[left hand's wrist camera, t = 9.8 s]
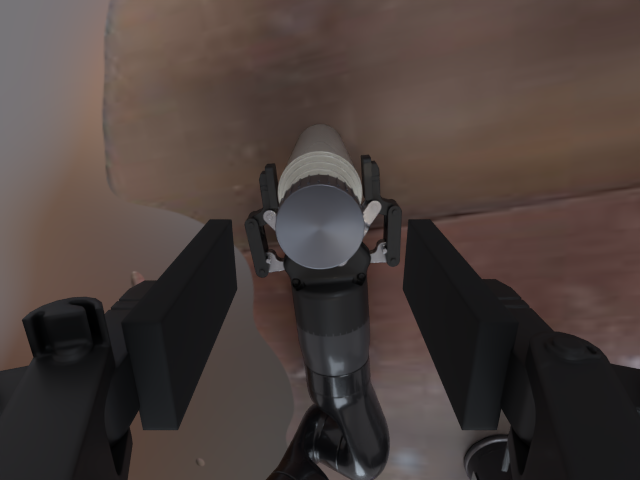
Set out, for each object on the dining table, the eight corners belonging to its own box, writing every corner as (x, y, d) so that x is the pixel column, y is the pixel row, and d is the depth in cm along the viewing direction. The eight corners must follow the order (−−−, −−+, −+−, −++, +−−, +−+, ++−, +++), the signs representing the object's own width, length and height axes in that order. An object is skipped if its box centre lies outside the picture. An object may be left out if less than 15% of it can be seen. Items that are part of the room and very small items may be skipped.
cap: (345, 261, 20) (348, 280, 18) (269, 239, 19) (263, 256, 17) (372, 187, 18) (379, 199, 16) (291, 162, 18) (288, 171, 16)
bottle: (334, 177, 42) (354, 287, 18) (291, 163, 41) (252, 259, 18) (349, 132, 40) (391, 190, 17) (304, 117, 40) (281, 155, 16)
